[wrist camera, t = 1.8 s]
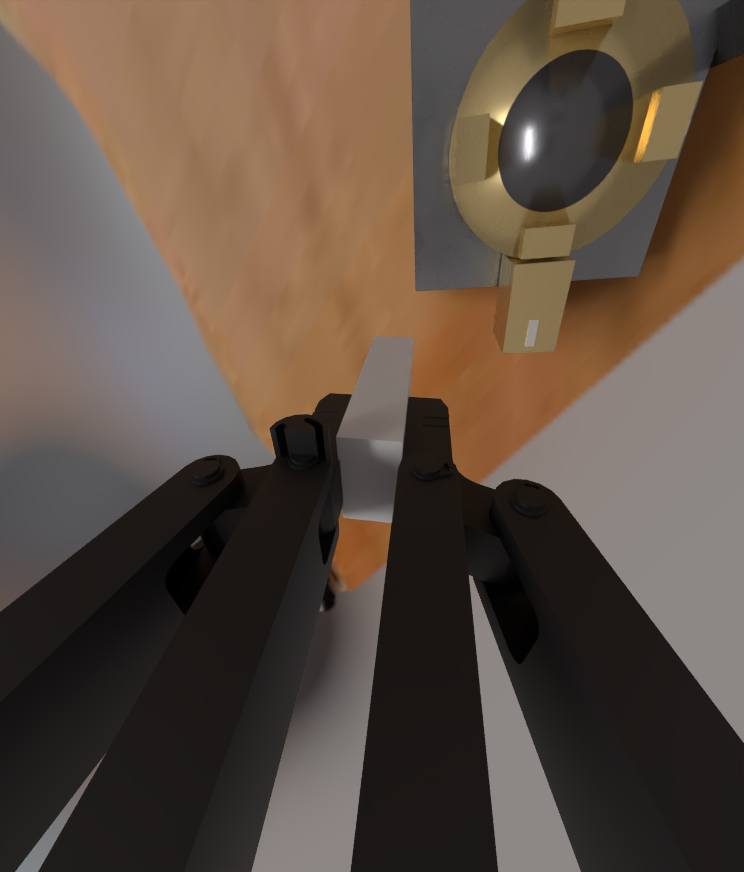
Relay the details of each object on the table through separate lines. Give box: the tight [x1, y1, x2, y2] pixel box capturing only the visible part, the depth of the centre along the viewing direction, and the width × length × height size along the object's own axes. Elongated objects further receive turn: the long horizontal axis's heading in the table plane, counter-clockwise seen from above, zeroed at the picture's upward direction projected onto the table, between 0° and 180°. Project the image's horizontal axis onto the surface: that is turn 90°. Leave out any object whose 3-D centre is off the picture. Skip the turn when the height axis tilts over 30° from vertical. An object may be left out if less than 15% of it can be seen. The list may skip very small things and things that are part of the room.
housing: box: [410, 0, 744, 291], centre depth 18 cm, size 14×16×7 cm
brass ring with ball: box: [449, 0, 703, 353], centre depth 18 cm, size 15×10×4 cm, turn 6°
